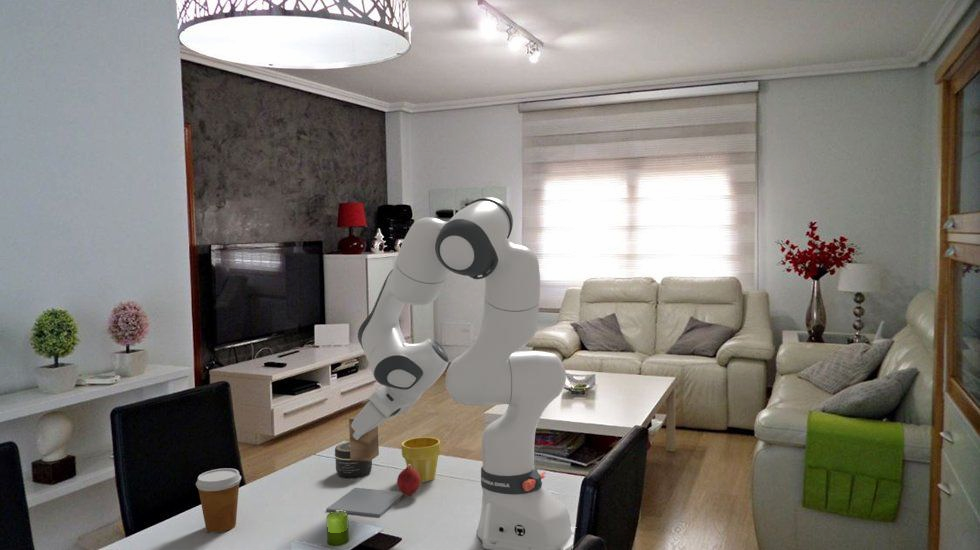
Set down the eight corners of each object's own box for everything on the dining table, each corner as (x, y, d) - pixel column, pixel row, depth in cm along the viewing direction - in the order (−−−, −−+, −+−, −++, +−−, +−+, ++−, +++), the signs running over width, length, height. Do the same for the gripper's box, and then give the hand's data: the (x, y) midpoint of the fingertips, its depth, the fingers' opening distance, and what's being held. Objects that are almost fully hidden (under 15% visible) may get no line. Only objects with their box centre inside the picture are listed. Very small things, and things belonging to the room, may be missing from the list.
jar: (368, 479, 183) (367, 451, 183) (331, 480, 183) (330, 452, 183) (375, 466, 193) (374, 440, 193) (340, 467, 193) (339, 440, 193)
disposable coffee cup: (216, 539, 148) (213, 485, 147) (189, 530, 153) (186, 477, 152) (252, 523, 156) (250, 471, 155) (225, 515, 161) (223, 465, 160)
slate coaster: (405, 494, 171) (405, 492, 171) (380, 516, 158) (380, 514, 158) (355, 489, 175) (355, 487, 175) (326, 511, 162) (326, 508, 162)
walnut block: (378, 454, 168) (377, 414, 167) (369, 461, 163) (367, 419, 162) (360, 453, 169) (358, 413, 169) (350, 460, 164) (348, 418, 164)
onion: (416, 501, 166) (416, 469, 166) (393, 500, 167) (394, 467, 167) (423, 492, 172) (423, 461, 172) (401, 491, 173) (401, 460, 173)
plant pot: (396, 476, 184) (394, 441, 184) (430, 469, 190) (429, 434, 189) (413, 488, 176) (412, 450, 175) (448, 479, 181) (447, 443, 181)
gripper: (406, 376, 173) (373, 412, 176) (369, 394, 153) (332, 435, 157) (423, 394, 172) (389, 431, 175) (388, 415, 152) (350, 456, 156)
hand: (362, 433), depth 166 cm, fingers closed on walnut block, 5 cm apart
